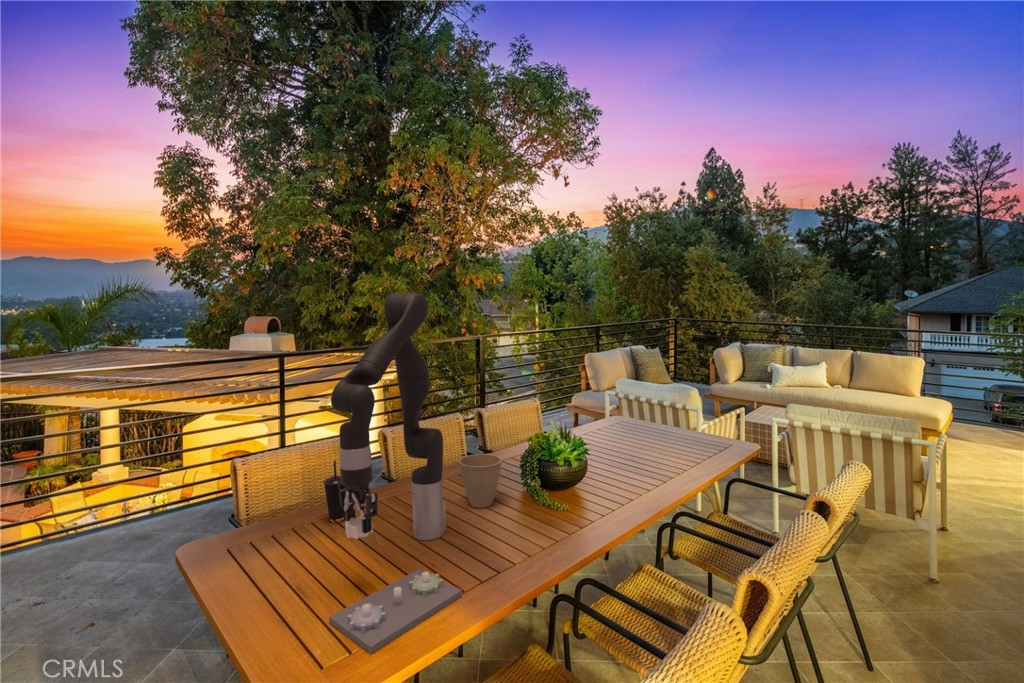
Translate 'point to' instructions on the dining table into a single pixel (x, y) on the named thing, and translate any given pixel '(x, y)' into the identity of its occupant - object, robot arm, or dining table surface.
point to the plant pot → (480, 478)
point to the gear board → (394, 609)
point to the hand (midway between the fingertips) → (359, 528)
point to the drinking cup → (333, 496)
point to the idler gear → (355, 528)
